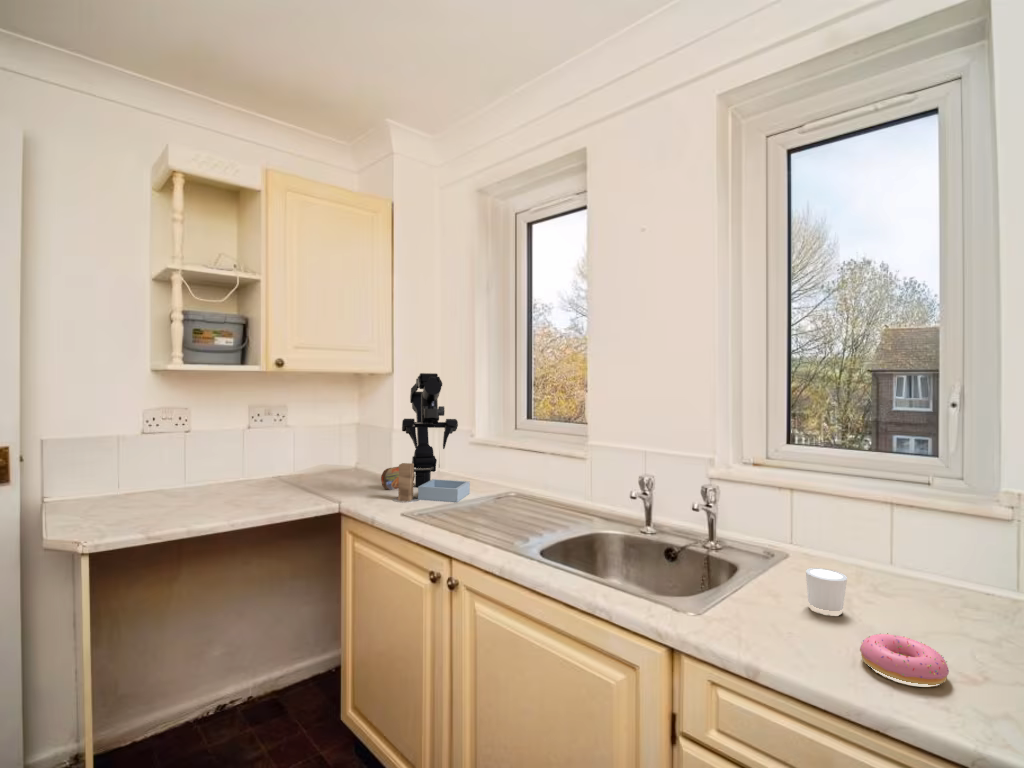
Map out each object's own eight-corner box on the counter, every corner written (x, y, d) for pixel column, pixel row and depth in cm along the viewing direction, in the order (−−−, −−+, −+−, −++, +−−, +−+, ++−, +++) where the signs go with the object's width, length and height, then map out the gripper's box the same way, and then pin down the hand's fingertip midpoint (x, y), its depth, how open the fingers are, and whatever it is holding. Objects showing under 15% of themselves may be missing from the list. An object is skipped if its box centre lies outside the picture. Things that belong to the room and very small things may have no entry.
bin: (432, 492, 200) (432, 479, 200) (469, 495, 197) (469, 481, 197) (418, 501, 187) (418, 486, 186) (457, 504, 184) (457, 489, 183)
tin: (385, 492, 199) (385, 468, 199) (380, 491, 201) (379, 468, 201) (415, 485, 212) (414, 463, 212) (409, 485, 213) (409, 463, 214)
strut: (401, 497, 189) (402, 463, 188) (413, 498, 188) (413, 463, 188) (398, 500, 185) (398, 465, 184) (409, 501, 184) (410, 465, 184)
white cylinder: (829, 620, 100) (830, 582, 99) (796, 606, 106) (797, 569, 106) (855, 614, 102) (855, 577, 102) (821, 600, 109) (822, 565, 108)
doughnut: (846, 666, 84) (846, 639, 84) (877, 647, 90) (878, 622, 90) (931, 702, 75) (932, 672, 75) (960, 678, 81) (961, 650, 81)
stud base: (399, 497, 192) (399, 488, 192) (423, 499, 190) (423, 490, 190) (387, 503, 183) (387, 493, 183) (413, 505, 181) (413, 495, 181)
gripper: (403, 396, 183) (403, 441, 177) (459, 397, 188) (461, 441, 181) (401, 409, 193) (401, 451, 187) (454, 409, 197) (456, 451, 191)
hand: (430, 448), depth 186 cm, fingers open, 9 cm apart
